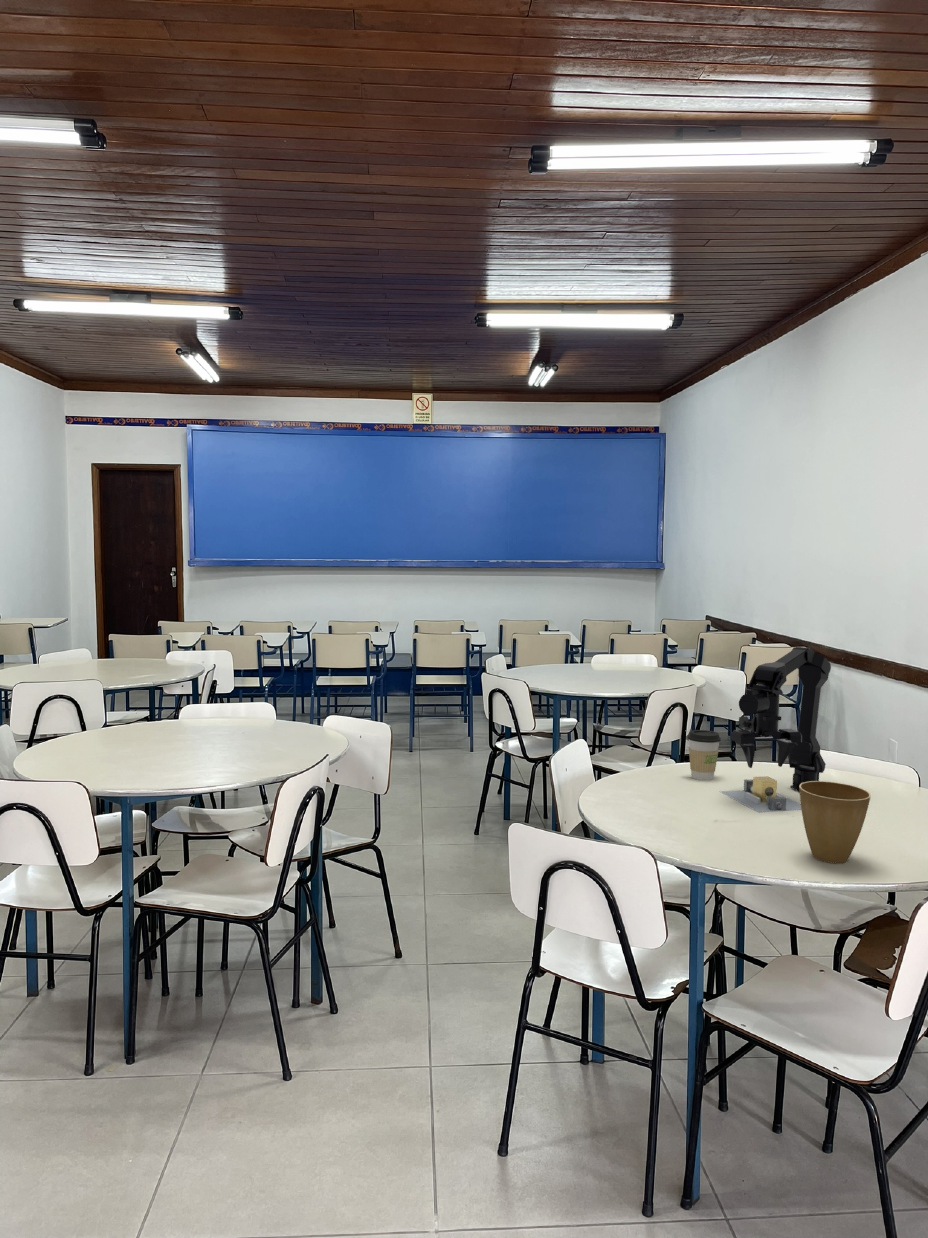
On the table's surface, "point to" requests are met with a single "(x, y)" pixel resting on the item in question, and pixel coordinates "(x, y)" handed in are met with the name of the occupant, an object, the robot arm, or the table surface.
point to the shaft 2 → (776, 803)
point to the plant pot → (832, 818)
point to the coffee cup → (703, 753)
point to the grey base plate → (755, 803)
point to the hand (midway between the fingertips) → (765, 767)
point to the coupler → (764, 787)
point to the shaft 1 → (748, 786)
